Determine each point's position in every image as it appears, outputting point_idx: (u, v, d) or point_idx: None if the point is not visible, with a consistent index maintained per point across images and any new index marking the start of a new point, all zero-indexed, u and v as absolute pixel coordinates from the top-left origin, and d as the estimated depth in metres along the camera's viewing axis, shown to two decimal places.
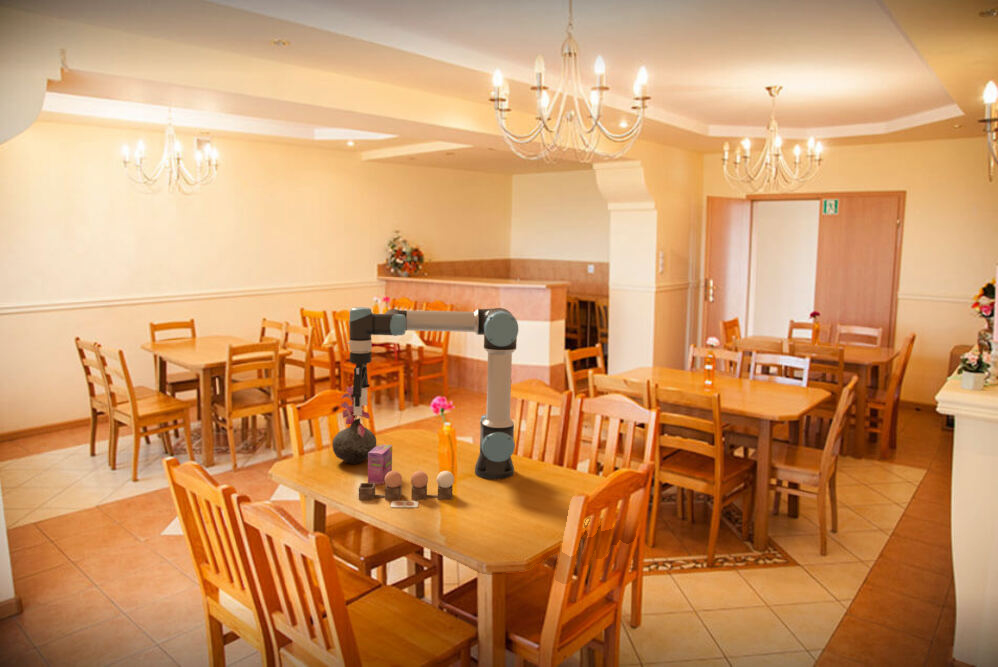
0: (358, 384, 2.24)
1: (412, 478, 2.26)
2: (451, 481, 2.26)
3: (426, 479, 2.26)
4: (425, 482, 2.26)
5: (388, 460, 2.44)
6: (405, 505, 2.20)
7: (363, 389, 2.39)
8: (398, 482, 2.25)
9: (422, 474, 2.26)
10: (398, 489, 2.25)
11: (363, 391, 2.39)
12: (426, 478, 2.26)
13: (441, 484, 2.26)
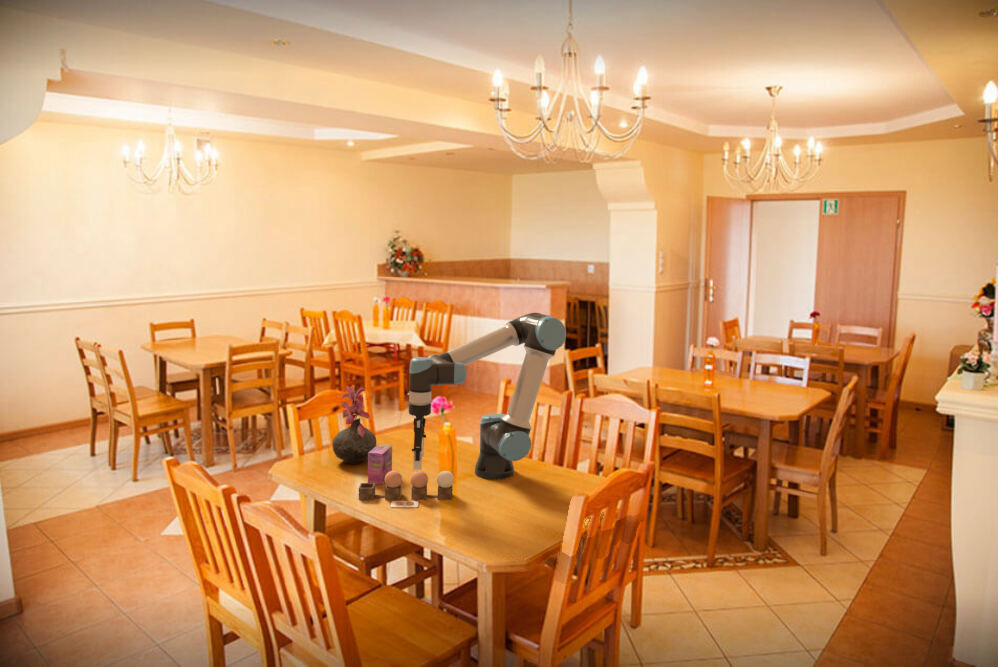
0: (419, 438, 2.17)
1: (412, 478, 2.26)
2: (451, 481, 2.26)
3: (426, 479, 2.26)
4: (425, 482, 2.26)
5: (388, 460, 2.44)
6: (405, 505, 2.20)
7: None
8: (398, 482, 2.25)
9: (422, 474, 2.26)
10: (398, 489, 2.25)
11: None
12: (426, 478, 2.26)
13: (441, 484, 2.26)
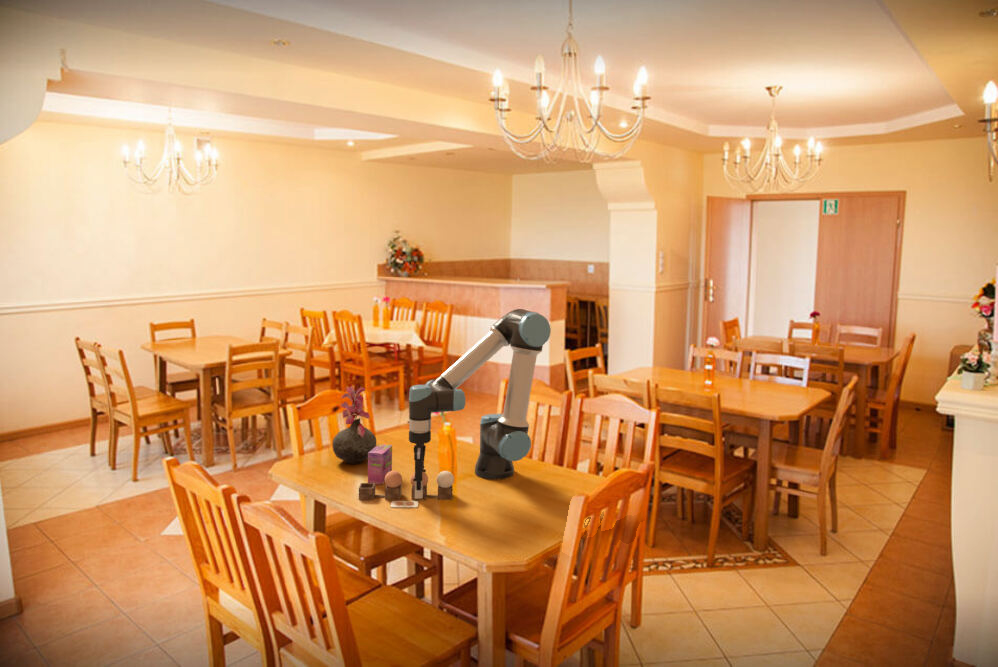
0: (420, 469, 2.20)
1: (412, 478, 2.26)
2: (451, 481, 2.26)
3: (426, 479, 2.26)
4: (425, 482, 2.26)
5: (388, 460, 2.44)
6: (405, 505, 2.20)
7: None
8: (398, 482, 2.25)
9: (422, 474, 2.26)
10: (398, 489, 2.25)
11: None
12: (426, 478, 2.26)
13: (441, 484, 2.26)
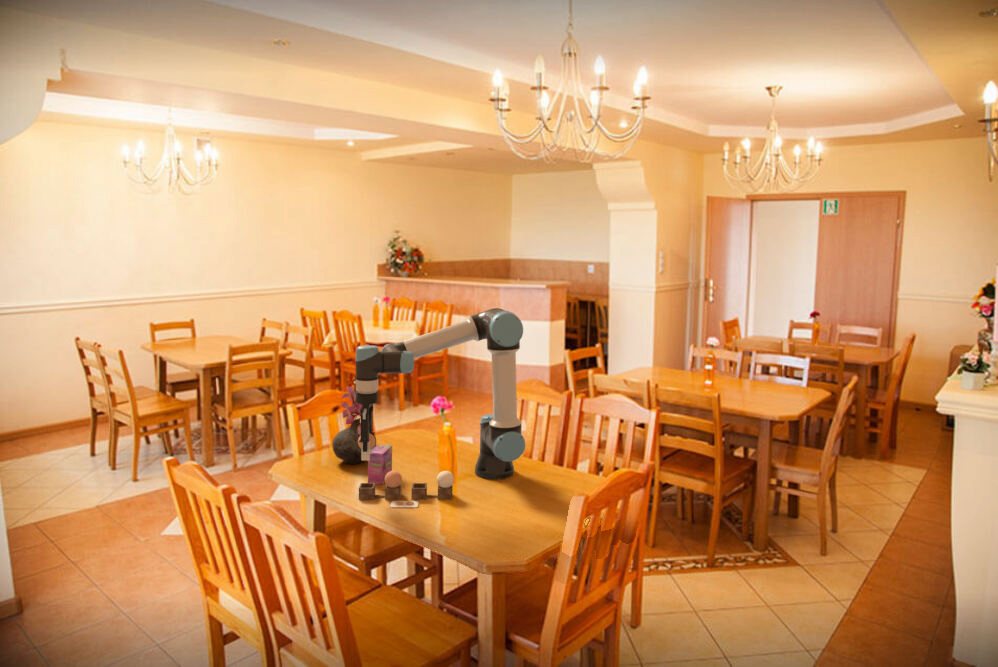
0: (366, 430, 2.17)
1: None
2: (451, 481, 2.26)
3: (373, 441, 2.23)
4: (372, 444, 2.23)
5: (388, 460, 2.44)
6: (405, 505, 2.20)
7: None
8: (398, 482, 2.25)
9: (369, 436, 2.23)
10: (398, 489, 2.25)
11: None
12: (373, 440, 2.23)
13: (441, 484, 2.26)
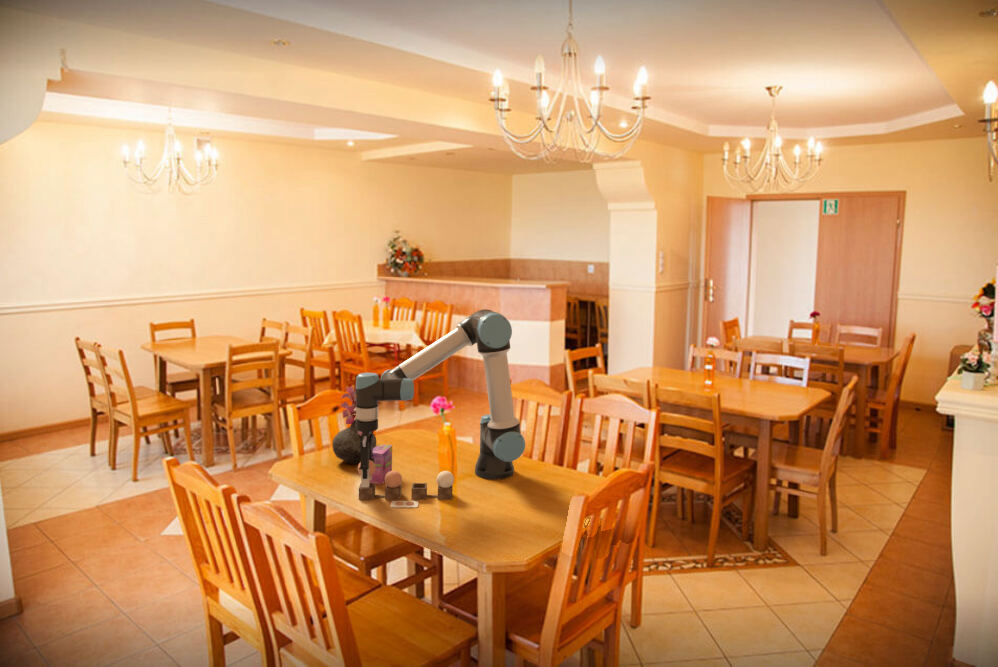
0: (366, 458, 2.19)
1: (359, 467, 2.24)
2: (451, 481, 2.26)
3: (373, 468, 2.25)
4: (372, 471, 2.24)
5: (388, 460, 2.44)
6: (405, 505, 2.20)
7: None
8: (398, 482, 2.25)
9: None
10: (398, 489, 2.25)
11: None
12: (373, 467, 2.25)
13: (441, 484, 2.26)
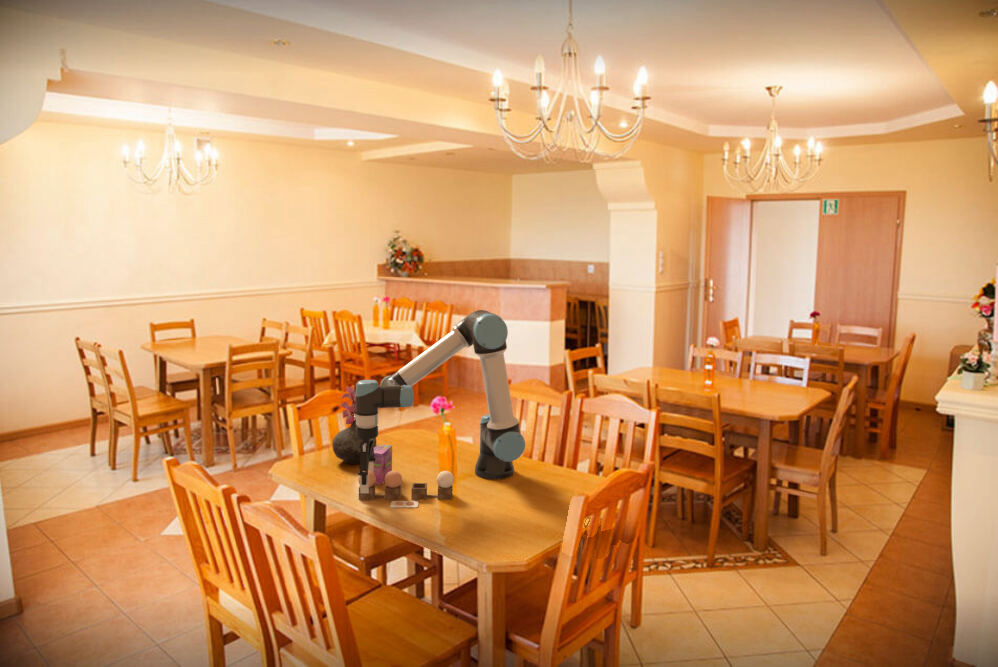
0: (365, 462, 2.17)
1: (359, 478, 2.25)
2: (451, 481, 2.26)
3: (373, 479, 2.25)
4: (372, 482, 2.25)
5: (388, 460, 2.44)
6: (405, 505, 2.20)
7: (369, 463, 2.32)
8: (398, 482, 2.25)
9: (369, 474, 2.25)
10: (398, 489, 2.25)
11: (369, 465, 2.32)
12: (373, 478, 2.25)
13: (441, 484, 2.26)
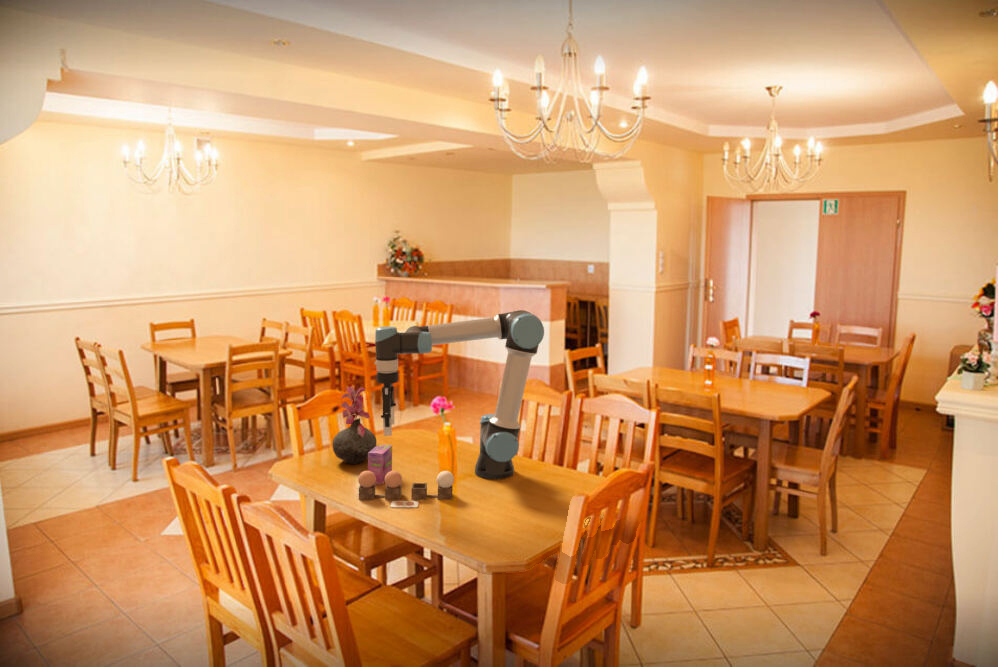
0: (388, 405, 2.22)
1: (359, 478, 2.25)
2: (451, 481, 2.26)
3: (373, 479, 2.25)
4: (372, 482, 2.25)
5: (388, 460, 2.44)
6: (405, 505, 2.20)
7: (390, 408, 2.38)
8: (398, 482, 2.25)
9: (369, 474, 2.25)
10: (398, 489, 2.25)
11: (390, 410, 2.38)
12: (373, 478, 2.25)
13: (441, 484, 2.26)
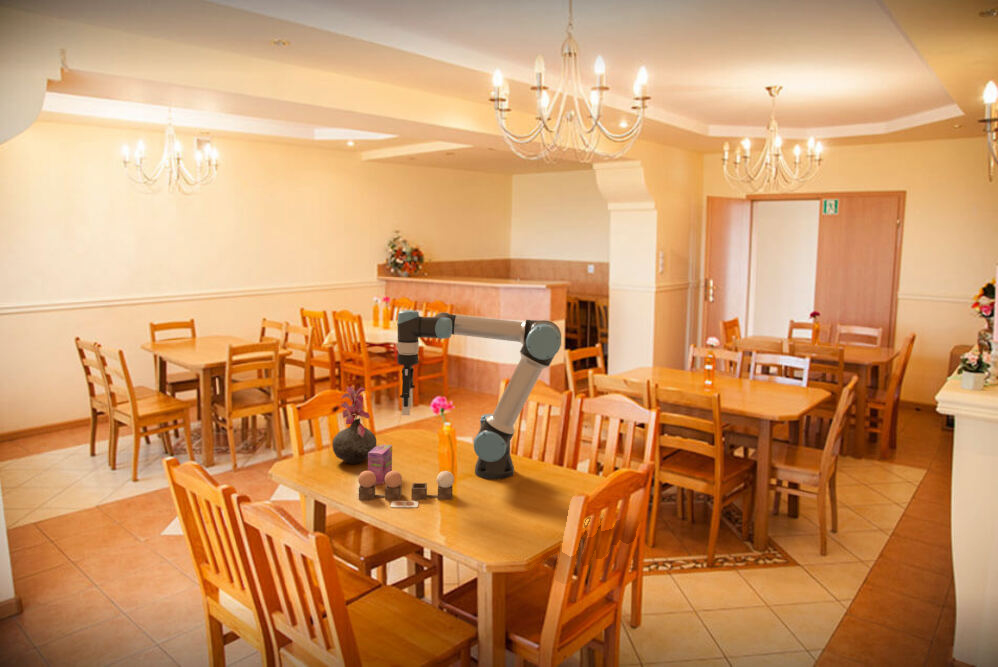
0: (407, 385, 2.30)
1: (359, 478, 2.25)
2: (451, 481, 2.26)
3: (373, 479, 2.25)
4: (372, 482, 2.25)
5: (388, 460, 2.44)
6: (405, 505, 2.20)
7: (409, 390, 2.46)
8: (398, 482, 2.25)
9: (369, 474, 2.25)
10: (398, 489, 2.25)
11: (409, 392, 2.46)
12: (373, 478, 2.25)
13: (441, 484, 2.26)
